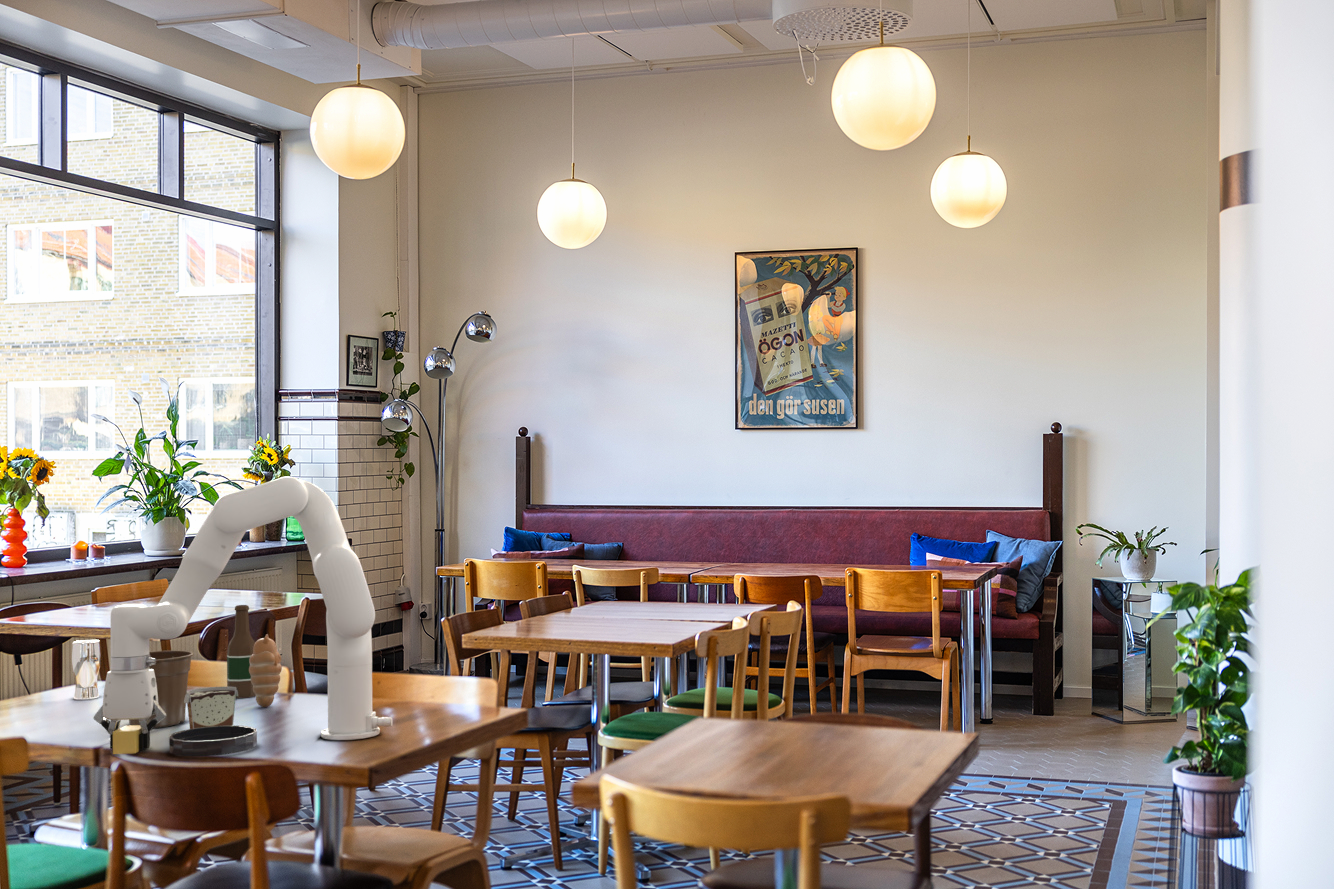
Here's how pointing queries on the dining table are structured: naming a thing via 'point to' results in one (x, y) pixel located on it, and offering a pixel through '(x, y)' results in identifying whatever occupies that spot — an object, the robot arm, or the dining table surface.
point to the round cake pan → (212, 740)
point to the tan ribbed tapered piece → (265, 670)
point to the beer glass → (86, 668)
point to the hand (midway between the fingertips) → (130, 751)
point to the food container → (211, 706)
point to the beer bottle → (240, 655)
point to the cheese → (126, 739)
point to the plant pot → (170, 685)
